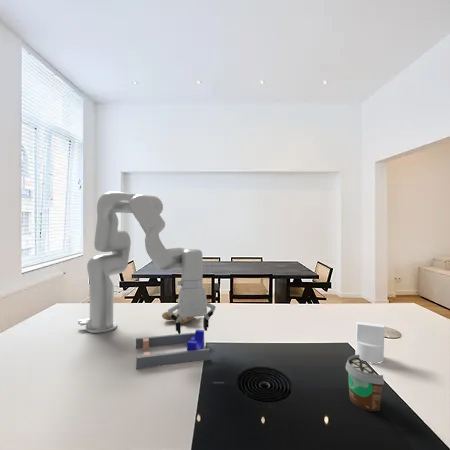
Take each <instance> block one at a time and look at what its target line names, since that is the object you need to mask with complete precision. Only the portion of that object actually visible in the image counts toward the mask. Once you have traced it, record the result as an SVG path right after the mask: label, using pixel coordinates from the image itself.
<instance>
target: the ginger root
mask: <svg viewBox="0 0 450 450" xmlns="http://www.w3.org/2000/svg"><path fill="white" fill-rule="evenodd" d="M173 314H174V315H175V316H177V315H178V310H176V311H174V312H173ZM161 317H162V319H163V320H166V321H174V320H173V319H172V318H171V316H170V314H169V313H168V311H165V312H163V313H162V314H161ZM194 319H195V317H187V318H181V320H180V323H181V325H183V324H186V323H187V322H191V321H192V320H194Z"/></svg>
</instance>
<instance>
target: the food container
mask: <svg viewBox="0 0 450 450" xmlns="http://www.w3.org/2000/svg"><path fill="white" fill-rule="evenodd" d="M345 370H346V371H347V373H348V377H347V378H348V393H349V395H348V396H349V400H350V402H351V403H352V404H353V405H355V406H357V408H359V409H363V410H365V411H367V410H368V412H372V411H381V401H382V391H383V385H385V379H384V375H383V374H377V372H375V370H374V369H373V367H371V366H370V365H369V364H368V363H366V362H363V361H362V360H361V359H360V358H359V355H355V354H353V355H350V356H349V357H348V358H347V361H346V364H345Z"/></svg>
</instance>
